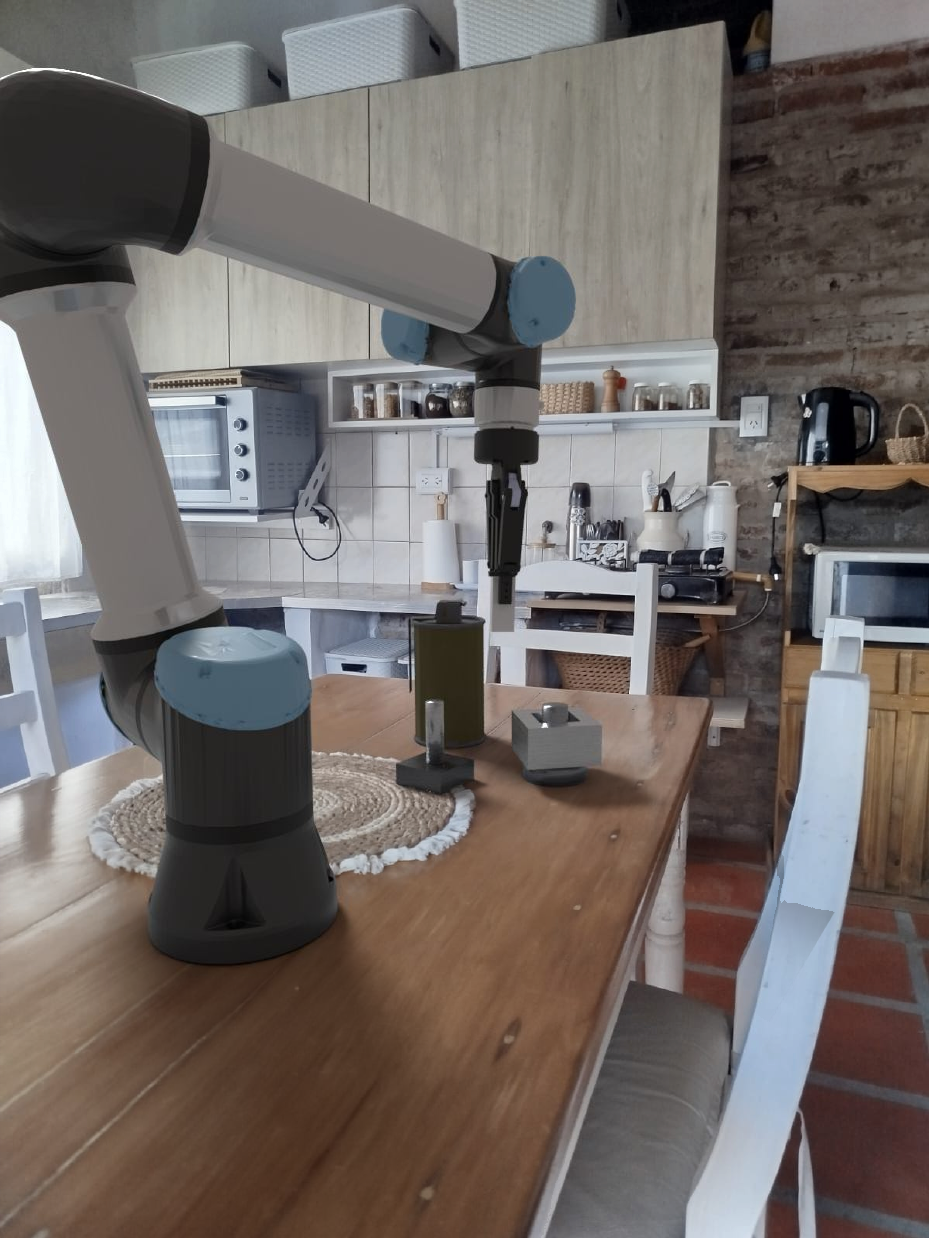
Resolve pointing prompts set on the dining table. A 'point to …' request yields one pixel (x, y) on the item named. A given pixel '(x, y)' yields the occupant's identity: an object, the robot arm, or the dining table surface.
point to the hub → (555, 776)
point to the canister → (449, 672)
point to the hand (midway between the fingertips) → (501, 630)
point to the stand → (435, 759)
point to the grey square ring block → (556, 740)
